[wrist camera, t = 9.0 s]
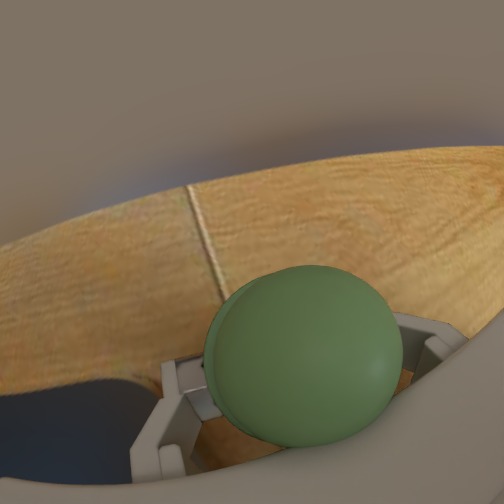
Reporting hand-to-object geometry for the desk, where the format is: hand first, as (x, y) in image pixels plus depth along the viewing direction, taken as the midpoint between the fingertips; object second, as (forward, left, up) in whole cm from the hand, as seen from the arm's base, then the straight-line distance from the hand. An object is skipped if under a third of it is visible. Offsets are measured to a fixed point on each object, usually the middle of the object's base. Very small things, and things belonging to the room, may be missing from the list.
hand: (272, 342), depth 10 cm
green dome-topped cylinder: (0, -1, -6) cm, 6 cm away
